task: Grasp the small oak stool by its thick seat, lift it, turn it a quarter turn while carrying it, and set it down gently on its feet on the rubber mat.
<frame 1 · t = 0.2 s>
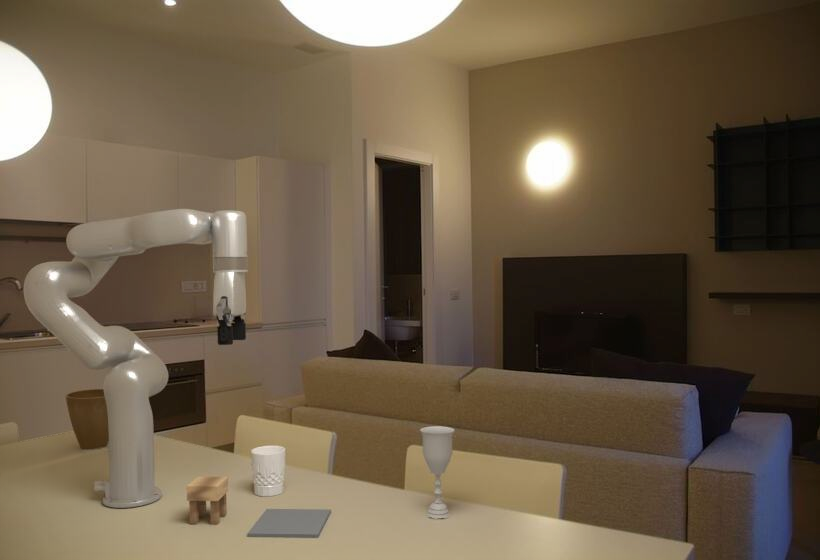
hand: (232, 342, 157), 36 cm above the table, tool pointing down, fingers open, 9 cm apart
chalice: (438, 516, 147), on the table
stool: (208, 519, 147), on the table
mat: (291, 523, 143), on the table
plant pot: (94, 446, 209), on the table
white cup: (269, 493, 164), on the table
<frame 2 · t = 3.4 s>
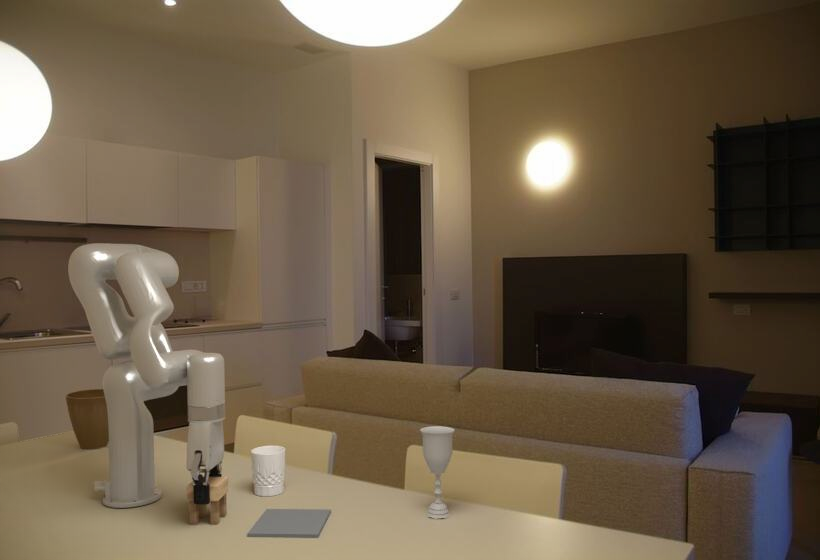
hand: (208, 497, 146), 5 cm above the table, tool pointing down, fingers closed on stool, 6 cm apart
stool: (208, 519, 147), on the table, touching gripper
everything else where it was.
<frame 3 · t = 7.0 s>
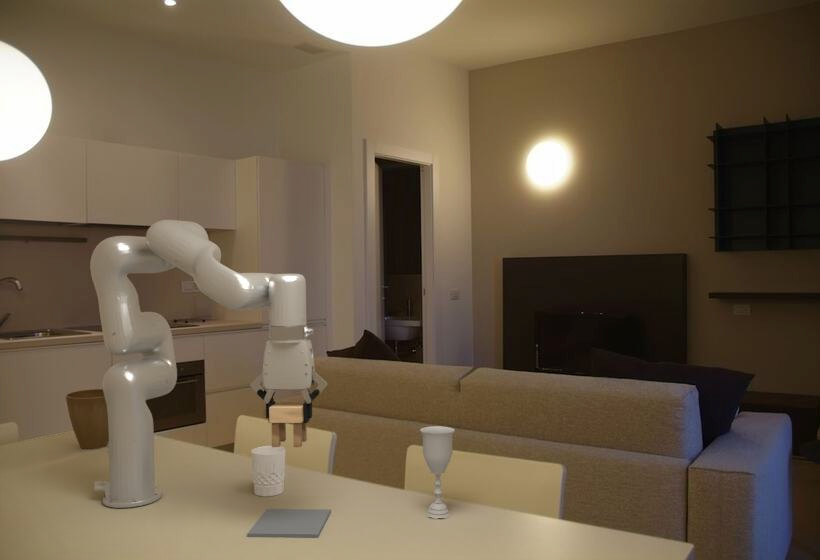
hand: (289, 420, 143), 21 cm above the table, tool pointing down, fingers closed on stool, 6 cm apart
stool: (289, 443, 143), point 17 cm above the table, touching gripper
everything else where it was.
when the fingers open (6 cm above the table, at t = 10.6 s): stool stays where it is, resting on mat.
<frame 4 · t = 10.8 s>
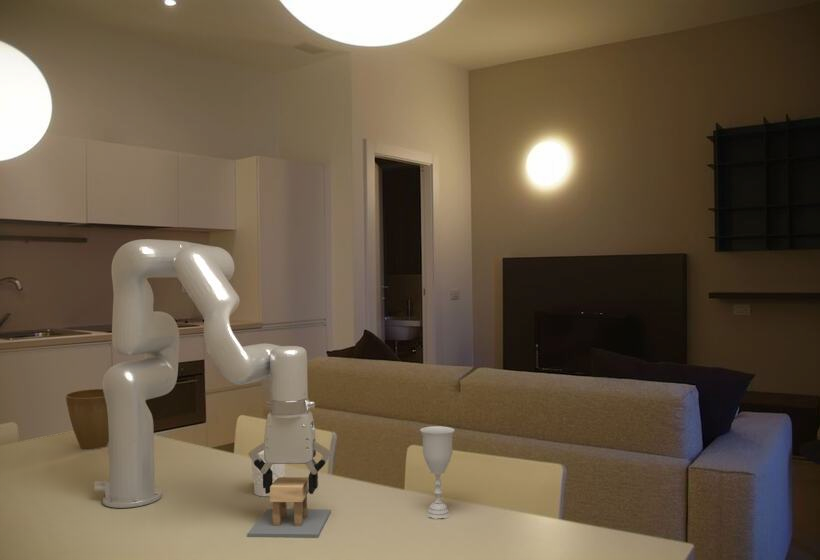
hand: (290, 491, 143), 7 cm above the table, tool pointing down, fingers open, 8 cm apart
stool: (290, 520, 143), point 1 cm above the table, touching mat
everything else where it was.
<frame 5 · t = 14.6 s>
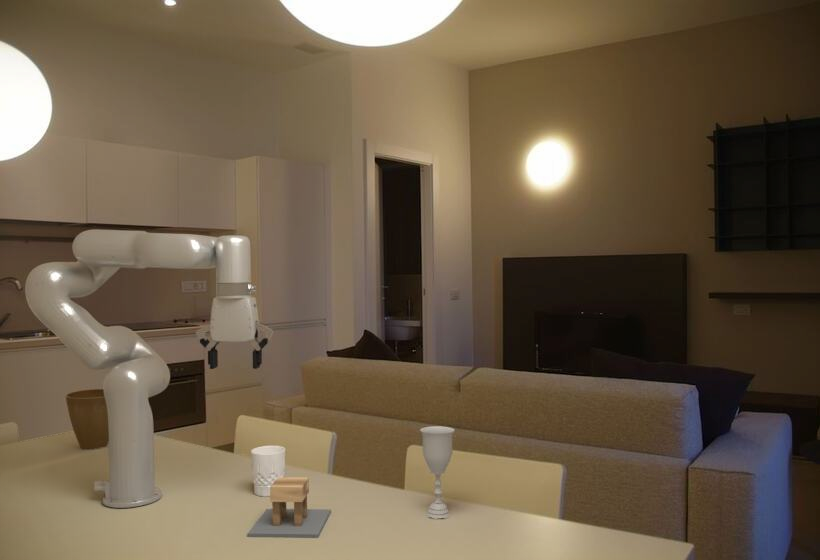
hand: (235, 368, 156), 30 cm above the table, tool pointing down, fingers open, 9 cm apart
nothing on the table moved.
at the end: stool inside the target area on the mat (0.1 cm from its centre), point 0.6 cm above the mat's base; stool tilted 0°; the gripper is holding nothing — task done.
